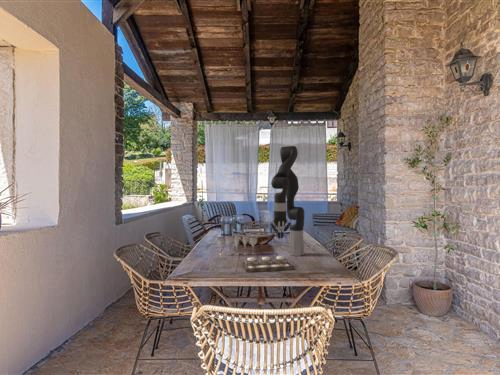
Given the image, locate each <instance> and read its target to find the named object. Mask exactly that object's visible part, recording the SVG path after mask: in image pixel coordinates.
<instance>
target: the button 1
mask: <svg viewBox="0 0 500 375" xmlns="http://www.w3.org/2000/svg"><path fill="white" fill-rule="evenodd" d="M246 260H247V262H256V260H257V259H256V257H254V256H252V257H247V259H246Z"/></svg>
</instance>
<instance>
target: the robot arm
mask: <svg viewBox="0 0 500 375" xmlns="http://www.w3.org/2000/svg"><path fill="white" fill-rule="evenodd" d="M279 155H280V162H281V165H279V168H278V171H277V172H276V174H275V175H274V176H273V178H272V179H271V183H270V184H271V188H272V189H275V190H281V191H280V192H276V193H275V194H274V206H273V220H272V222H270V223H269V225H270V227H271V228H272V229H273V231H274V232H276V236H277V239H278V240H279V239H283V238H284V237H285V236H284V235H285V234H284V233H285V232H287V231H288V229H289V255H290V256H293V257H294V256H295V257H300V256H305V240H304V227H305V226H304V225H305V210H304V207H302V206H295V198H296V195H297V194H298V191H299V189H300V188H299V187H300V186H299V179H298V177H297V175H296V173H295V172H294V171H293V170H292V167H293V165H294V163H295V161H296V160H297V159H298V155H299V153H298V147H297V146H295V145H288V146H282V147H280V149H279ZM288 219H289V220H292V221H295V223H294V224H292V223H291V222H290V221H288ZM275 226H276V227H275Z"/></svg>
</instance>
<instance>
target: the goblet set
mask: <svg viewBox="0 0 500 375" xmlns="http://www.w3.org/2000/svg"><path fill="white" fill-rule="evenodd" d="M232 242H233V243H234V245H235V247H236V250H238V246H239V243H240V236H239V235H237V234H236V235H234V237H233V236H232V235H225V236H224V237H222V236H219V237H216V243H217V245H218V247H219V251H220V252H219V253H218V254H217V256H224V254H223V253H222V252H221V251H222V246H223V244H224V243H225V244H226V246H227V249H228V253H225V256H231V255H234V256H239V254H240V253H234V254H233V253H230V246H231V244H232ZM247 243H249V245H251V247H252V249H254V247H255V246H256V245H257V243H258V238H257V236H249V238H248V235H242V244H243V246H244V248H246V246H247ZM251 253H252V254H254V252H251ZM243 254H244V255H243V256H247V255H246V254H247V253H243Z"/></svg>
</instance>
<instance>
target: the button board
mask: <svg viewBox="0 0 500 375" xmlns="http://www.w3.org/2000/svg"><path fill="white" fill-rule="evenodd" d="M241 266H242V268H243V269H244V271H245V273H257V272H258V273H259V272H273V271H291V270H294V266H293V264H291V263H290V262H289V261H288V259H286V258H285V260H281V261H277V260H276V257H274V258H273V259H271V258H270V261H262V258H259V261H258V260H257V259H256V262H247V259H244V261H242V262H241Z"/></svg>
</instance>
